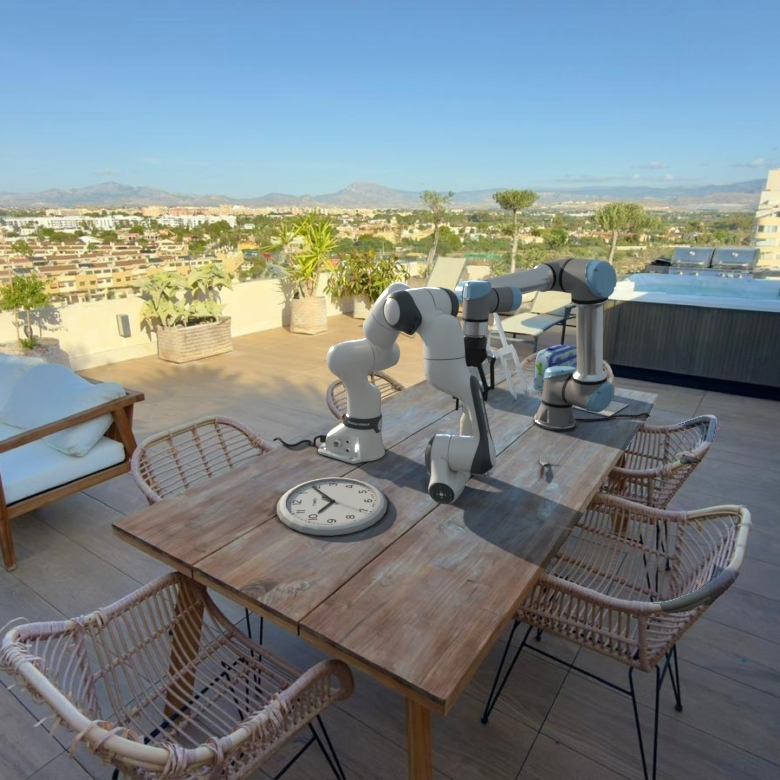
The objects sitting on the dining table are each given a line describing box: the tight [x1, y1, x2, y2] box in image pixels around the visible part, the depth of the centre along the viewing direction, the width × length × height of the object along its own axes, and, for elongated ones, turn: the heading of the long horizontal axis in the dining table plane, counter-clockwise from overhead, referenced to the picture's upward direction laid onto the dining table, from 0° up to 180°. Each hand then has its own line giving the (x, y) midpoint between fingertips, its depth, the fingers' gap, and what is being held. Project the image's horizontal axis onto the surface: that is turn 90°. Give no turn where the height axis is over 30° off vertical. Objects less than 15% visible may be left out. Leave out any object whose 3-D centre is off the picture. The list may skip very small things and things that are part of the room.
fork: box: [539, 453, 550, 478], centre depth 166 cm, size 3×16×2 cm, turn 160°
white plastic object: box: [468, 313, 531, 400], centre depth 245 cm, size 37×45×31 cm
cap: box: [461, 402, 469, 413], centre depth 158 cm, size 4×4×2 cm
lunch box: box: [533, 344, 577, 392], centre depth 247 cm, size 26×11×21 cm, turn 134°
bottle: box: [458, 412, 473, 436], centre depth 161 cm, size 5×5×22 cm
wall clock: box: [276, 476, 388, 537], centre depth 142 cm, size 30×2×30 cm
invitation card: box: [573, 400, 629, 417], centre depth 226 cm, size 21×1×15 cm
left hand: (466, 451), depth 163 cm, fingers closed on bottle, 5 cm apart
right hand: (469, 409), depth 158 cm, fingers open, 7 cm apart
